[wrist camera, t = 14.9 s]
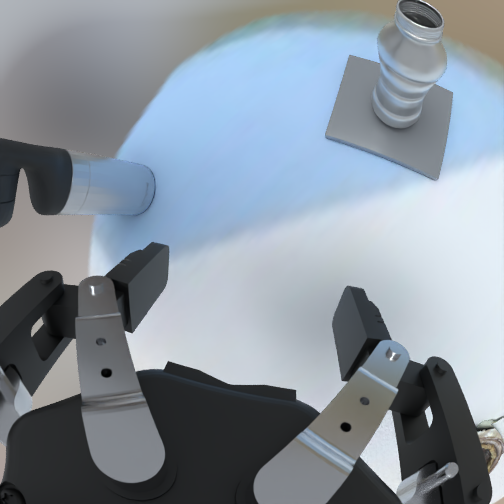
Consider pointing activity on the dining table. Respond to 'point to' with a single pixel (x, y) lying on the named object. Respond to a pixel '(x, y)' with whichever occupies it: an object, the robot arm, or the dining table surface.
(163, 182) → the dining table surface
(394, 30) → the plastic bottle
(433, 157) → the slate tile
